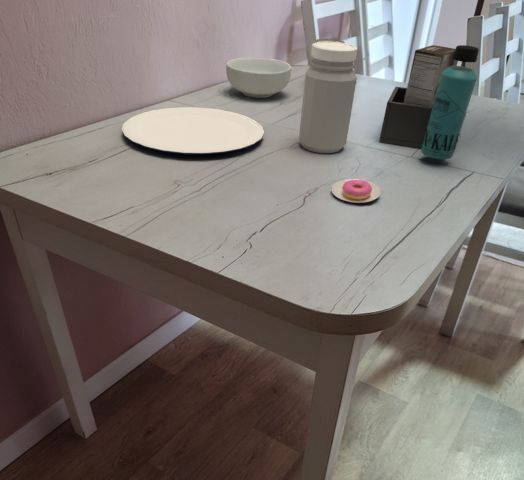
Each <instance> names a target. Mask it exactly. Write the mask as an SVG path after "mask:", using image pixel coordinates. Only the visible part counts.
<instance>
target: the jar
mask: <svg viewBox="0 0 524 480" xmlns="http://www.w3.org/2000/svg"><path fill="white" fill-rule="evenodd" d="M357 55H358V48H357V47H356V46H355V45H354V44H351V43H346V42H345V43H340V42H328V41H324V42H316V41H315V42H313V43H312V44H311V52H310V56H311V57H312V60H310V61H309V63H310V66H309V67H308V69H307V70H306V71H305V74H304V83H303V94H302V103H301V115H300V124H299V135H298V140H299V142H300V144H301V146H302V148H303V149H305V150H307V151H309V152H313V153H318V154H334V153H338V152H340V150H342V149H343V148H344V147H345V146H346V145H347V139H348V135H349V128H350V121H351V117H352V110H353V103H354V99H355V90H356V84H357V79H358V77H357V75H356V73H355V71H354V69H355V68H356V65H355V64H354V61H356V60H357Z"/></svg>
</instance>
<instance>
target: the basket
mask: <svg viewBox="0 0 524 480" xmlns="http://www.w3.org/2000/svg"><path fill="white" fill-rule="evenodd" d="M406 90H407V87H402V86H394V89H393V90H392V92H391V94H390V96H389V97H388V100H387V102H386V106H385V110H384V115H383V120H382V125H381V131H380V135H379V139H378V142H379V143H382V144H389V145H395V146H402V147H408V148H413V149H420V150H421V148H422V146H421V145H423V144H422V142H423V140H424V139H423V138H424V137H425V135H424V134H426V131H425V130H427V126H428V123H429V122H428V121H429V119H430V114H431V111H432V108H433V107H426V106H419V105H412V104H405V103H404V99H405V95H406Z"/></svg>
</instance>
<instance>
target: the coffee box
mask: <svg viewBox="0 0 524 480" xmlns="http://www.w3.org/2000/svg"><path fill="white" fill-rule="evenodd" d="M455 49H456V48H453V47H448V46H442V45H435V44H433V45H429V46H425V47H421V48H418V49H415V50H414V54H413V60H412V64H411V68H410V73H409V78H408V80H407V81H408V82H407V86H406V88H407V90H406V95H405V99H404V103H405V104H412V105H419V106H426V107H433V104H434V102H433V101H434V99H435V97H436V96H435V95H436V94H437V90H438V87H439V83H440V80H441V74H442V72H443V71H444V70H446V69H447V68H449V67H450V66H458V63H459V61H457V60H454V59H452V57H453V54H454V52H455Z"/></svg>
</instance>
